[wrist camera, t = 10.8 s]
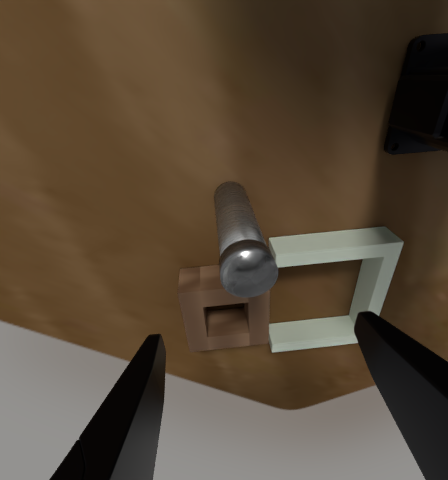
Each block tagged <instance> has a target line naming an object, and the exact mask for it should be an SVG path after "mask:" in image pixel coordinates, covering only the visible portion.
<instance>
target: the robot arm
mask: <svg viewBox="0 0 448 480" xmlns="http://www.w3.org/2000/svg"><path fill="white" fill-rule="evenodd" d="M419 42H420V43H421V47H420V49H419V50H418V51H417V45H418V43H419ZM394 143H395V146H394V148H393V149H391V147H392V145H393V144H394ZM384 150H385V152H386V153H389V154H392V155H394V154H405V153H416V152H427V151H438V150H443V151H446V152H448V33H444V34H431V35H421V36H417V37H415V38H413V39H412V40H411V42H410V43H409V46H408V48H407V53H406V57H405V61H404V65H403V69H402V74H401V78H400V80H399V81H398V85H397V90H396V94H395V98H394V102H393V107H392V111H391V115H390V119H389V128H388V132H387V136H386V141H385V145H384ZM354 333H355V336H356V338H357V341H358V343H359V346H360V348H361V351H362V353H363V356H364V358H365V361H366V363H367V366H368V368H369V371H370V373H371V375H372V378H373V380H374V382H375V384H376V386H377V387H378V389H379V391H380V393H381V395H382V397H383V399H384V401H385V403H386V405H387V406H388V408H389V410H390V412H391V414H392V416H393V418H394V420H395V422H396V424H397V426H398V428H399V430H400V431H401V433H402V435H403V437H404V439H405V441H406V443H407V445H408V447H409V449H410V450H411V452H412V454H413V456H414V458H415V460H416V462H417V464H418V466H419V468H420V470H421V472H422V474H423V476H424V477H425V479H426V480H448V362H447V361H446V360H444V359H443V358H441V357H440V356H438V355H437V354H435V353H434V352H432V351H431V350H429V349H428V348H426V347H425V346H423V345H422V344H420V343H419V342H417V341H416V340H414V339H413V338H411V337H410V336H408V335H407V334H405V333H404V332H402V331H401V330H399V329H398V328H396V327H395V326H393V325H392V324H390V323H389V322H387V321H386V320H384V319H383V318H381V317H380V316H378V315H377V314H375V313H374V312H372V311H362V312H359V313H358V314H357V318H356V321H355V325H354ZM165 363H166V350H165V346H164V342H163V339H162V336H161V334H152V335H149V336H148V337H147V338H146V339H145V341H144V342H143V344H142V345H141V347H140V348H139V350H138V351H137V353H136V354H135V356H134V357H133V359H132V360H131V362H130V363H129V365H128V366H127V368H126V369H125V370H124V372H123V373H122V375H121V376H120V378H119V379H118V381H117V383H116V384H115V385H114V387H113V388H112V390H111V391H110V393H109V394H108V396H107V397H106V399H105V400H104V402H103V403H102V404H101V406H100V408H99V409H98V410H97V412H96V413H95V415H94V416H93V418H92V419H91V421H90V422H89V424H88V425H87V426H86V428H85V430H84V431H83V432H82V434H81V435H80V437H79V440H77V441H76V442H75V444H74V446H73V447H72V448H71V450H70V452H69V453H68V454H67V456H66V457H65V459H64V460H63V461H62V463H61V464H60V466H59V467H58V468H57V470H56V471H55V473H54V474H53V475H52V477H51V478H50V480H153V474H154V467H155V460H156V454H157V447H158V440H159V433H160V426H161V418H162V412H163V404H164V390H165Z"/></svg>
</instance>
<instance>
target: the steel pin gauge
mask: <svg viewBox="0 0 448 480" xmlns="http://www.w3.org/2000/svg"><path fill="white" fill-rule="evenodd" d="M214 204H215V213H216V222H217V232H218V241H219V250H220V259H219V270H220V280H221V283H222V286H223V287H224V289H225V290H226V291H227V292H229V293H230V294H232V295H234V296H238V297H244V298H248V297H255V296H258V295H261V294H263V293H265V292H267V291H268V290H269V289H270V288H271V287H272V286H273V285H274V284H275V282H276V280H277V277H278V267H277V264H276V262H275V259H274V257H273V254H272V252H271V250H270V249H269V247H268V246H267V245H266V242H265V240H264V237H263V235H262V232H261V229H260V227H259V224H258V222H257V219H256V216H255V214H254V211H253V209H252V206H251V204H250V201H249V198H248V196H247V193H246V191H245V189H244V187H243V186H242V185H240V184H239V183H237V182H225V183H223V184H221V185H220V186H219V187H218V188H217V189H216V191H215V194H214Z"/></svg>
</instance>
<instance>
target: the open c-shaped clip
mask: <svg viewBox="0 0 448 480" xmlns="http://www.w3.org/2000/svg"><path fill="white" fill-rule="evenodd" d="M403 243H404V241H402V240H401V239H400V238H399V237H397V236H396V235H395V234H394V233H393V232H391V231H390V230H389V229H388V228H386V227H385V226H384V227H374V228H363V229H353V230H343V231H333V232H323V233H313V234H303V235H293V236H282V237H272V238H269V249H270V250H271V252H272V254H273V257H274V259H275V262H276V264H277V267H288V266H298V265H308V264H317V263H327V262H337V261H347V260H357V259H363V260H362V264H361V268H360V272H359V276H358V280H357V284H356V288H355V292H354V296H353V300H352V304H351V308H350V312H349V315H347V316H338V317H328V318H319V319H310V320H301V321H291V322H282V323H273V324H269V343H270V347H271V351H272V353H273V352H282V351H291V350H300V349H308V348H317V347H326V346H335V345H344V344H353V343H358V341H357V338H356V336H355V333H354V325H355V321H356V318H357V314H358V313H359V312H362V311H372V312H374V313H375V314H377V315H378V316H379V315H380V312H381V309H382V306H383V303H384V300H385V297H386V294H387V291H388V288H389V285H390V282H391V279H392V276H393V273H394V270H395V267H396V264H397V261H398V258H399V255H400V252H401V249H402V246H403Z"/></svg>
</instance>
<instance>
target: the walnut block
mask: <svg viewBox="0 0 448 480" xmlns="http://www.w3.org/2000/svg"><path fill="white" fill-rule="evenodd" d="M178 298H179V302H180V307H181V312H182V317H183V321H184V326H185V331H186V335H187V340H188V345H189V349H190V352H197V351H206V350H215V349H224V348H233V347H242V346H251V345H260V344H269V312H270V289H269V290H268V291H267V292H265V293H263V294H261V295H258V296H255V297H248V298H244V297H238V296H234V295H232V294H230V293H229V292H227V291H226V290H225V289H224V287H223V286H222V283H221V280H220V270H219V265H212V266H202V267H193V268H183V269H180V274H179V284H178ZM238 303H244V307H242V308H232V309H223V310H213V311H206V307H210V306H220V305H229V304H238Z"/></svg>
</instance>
